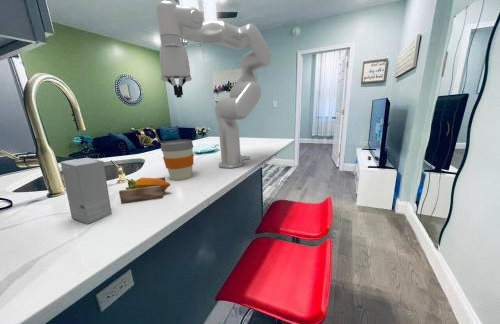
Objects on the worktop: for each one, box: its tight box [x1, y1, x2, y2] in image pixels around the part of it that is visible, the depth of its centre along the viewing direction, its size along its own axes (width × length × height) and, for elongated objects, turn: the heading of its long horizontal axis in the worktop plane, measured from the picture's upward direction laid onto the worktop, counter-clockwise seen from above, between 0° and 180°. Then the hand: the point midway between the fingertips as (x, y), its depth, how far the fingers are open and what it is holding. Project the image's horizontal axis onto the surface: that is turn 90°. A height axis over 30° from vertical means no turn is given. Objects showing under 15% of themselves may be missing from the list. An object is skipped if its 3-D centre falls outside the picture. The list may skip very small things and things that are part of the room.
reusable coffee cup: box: [160, 139, 194, 181], centre depth 86 cm, size 13×13×15 cm
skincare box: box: [60, 157, 113, 225], centre depth 55 cm, size 8×7×16 cm
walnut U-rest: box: [118, 176, 167, 205], centre depth 70 cm, size 12×10×4 cm
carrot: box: [125, 177, 171, 190], centre depth 70 cm, size 5×5×15 cm
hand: (179, 97), depth 79 cm, fingers closed
